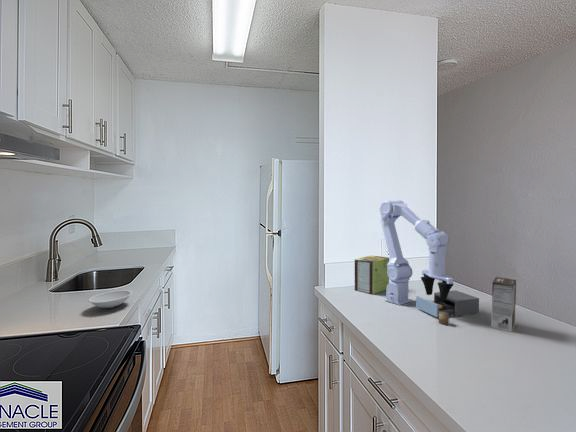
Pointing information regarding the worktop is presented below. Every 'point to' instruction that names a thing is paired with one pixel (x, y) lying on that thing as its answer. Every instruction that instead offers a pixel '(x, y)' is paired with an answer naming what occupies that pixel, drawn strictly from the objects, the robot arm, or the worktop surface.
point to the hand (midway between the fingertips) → (436, 297)
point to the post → (443, 318)
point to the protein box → (371, 274)
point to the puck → (440, 305)
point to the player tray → (433, 306)
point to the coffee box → (503, 304)
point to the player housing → (460, 303)
